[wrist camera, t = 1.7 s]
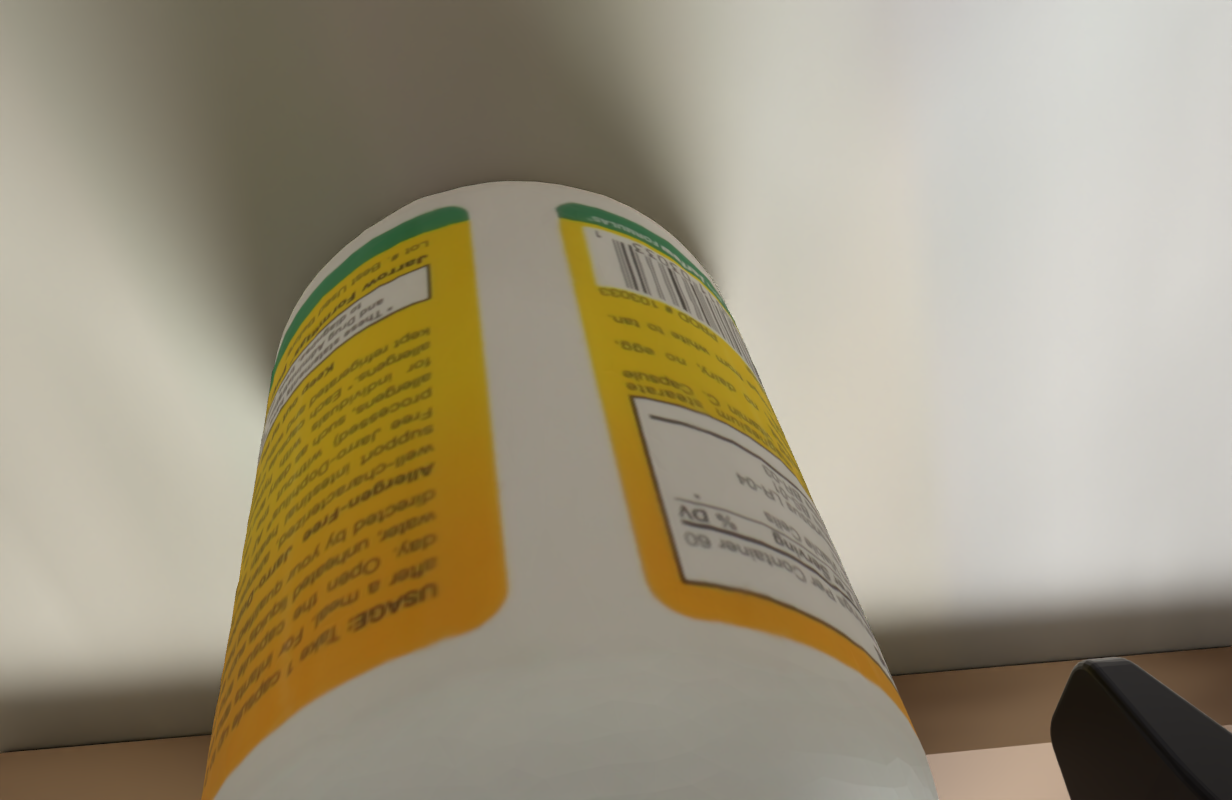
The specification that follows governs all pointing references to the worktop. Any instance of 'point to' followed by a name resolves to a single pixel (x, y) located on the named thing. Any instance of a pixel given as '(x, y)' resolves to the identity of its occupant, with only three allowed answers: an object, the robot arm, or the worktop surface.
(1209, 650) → the light tan board
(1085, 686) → the robot arm
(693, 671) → the supplement bottle
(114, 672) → the worktop surface
